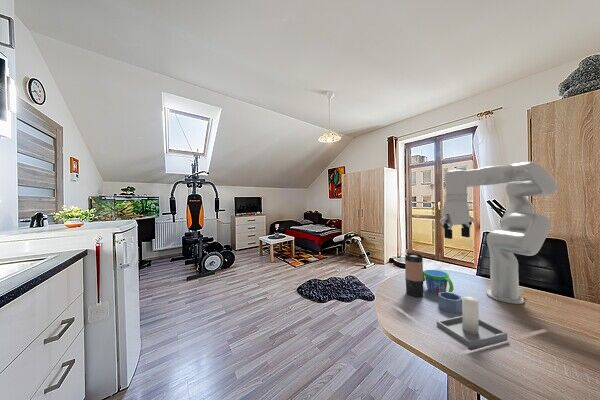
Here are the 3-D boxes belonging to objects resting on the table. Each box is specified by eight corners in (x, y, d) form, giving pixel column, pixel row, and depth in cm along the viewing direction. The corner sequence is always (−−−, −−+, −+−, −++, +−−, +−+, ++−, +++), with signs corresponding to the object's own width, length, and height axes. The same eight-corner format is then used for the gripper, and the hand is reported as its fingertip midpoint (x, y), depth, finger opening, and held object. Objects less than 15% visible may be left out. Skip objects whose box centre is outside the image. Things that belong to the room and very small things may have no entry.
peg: (468, 326, 76) (469, 295, 76) (481, 333, 72) (481, 301, 72) (459, 327, 75) (459, 297, 75) (471, 335, 71) (471, 302, 71)
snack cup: (415, 288, 111) (415, 268, 111) (432, 285, 114) (431, 267, 114) (441, 301, 96) (440, 279, 96) (459, 298, 98) (459, 277, 98)
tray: (469, 320, 81) (469, 314, 81) (507, 340, 69) (507, 333, 69) (436, 327, 77) (436, 321, 77) (471, 350, 65) (470, 342, 65)
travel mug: (426, 300, 98) (425, 257, 98) (408, 299, 99) (407, 257, 99) (420, 293, 105) (419, 253, 105) (403, 292, 107) (403, 253, 107)
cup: (448, 304, 94) (448, 290, 94) (467, 313, 86) (466, 299, 86) (434, 307, 92) (433, 293, 92) (451, 316, 84) (451, 301, 84)
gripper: (462, 198, 97) (463, 235, 97) (432, 199, 93) (433, 237, 93) (480, 198, 90) (481, 237, 90) (448, 198, 85) (449, 240, 85)
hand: (457, 237), depth 91 cm, fingers open, 9 cm apart
